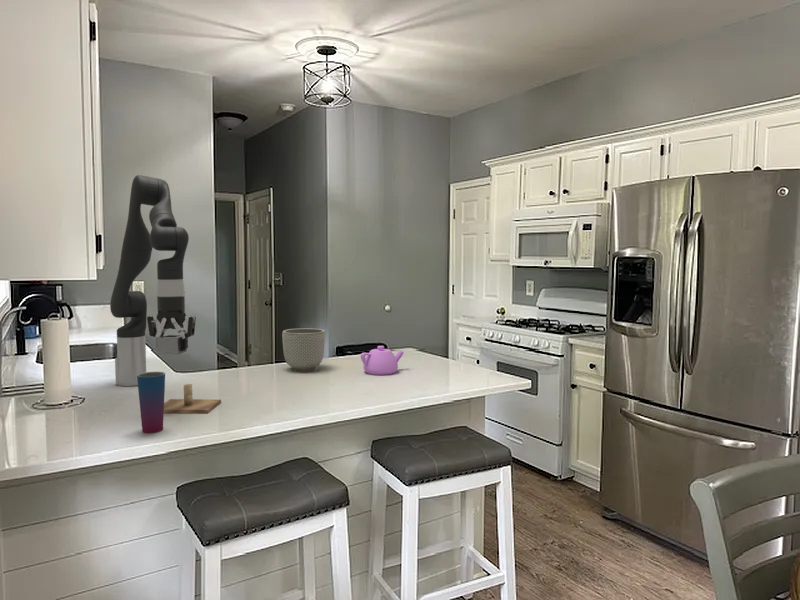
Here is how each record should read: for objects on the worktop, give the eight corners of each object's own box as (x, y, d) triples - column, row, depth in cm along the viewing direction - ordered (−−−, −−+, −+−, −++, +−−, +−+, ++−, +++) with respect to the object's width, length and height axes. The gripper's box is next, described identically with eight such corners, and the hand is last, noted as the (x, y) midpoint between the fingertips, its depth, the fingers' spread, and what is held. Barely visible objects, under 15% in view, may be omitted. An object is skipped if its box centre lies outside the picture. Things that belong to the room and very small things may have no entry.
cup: (144, 426, 151) (142, 371, 150) (170, 425, 151) (168, 371, 150) (134, 434, 144) (132, 377, 143) (161, 433, 145) (160, 376, 144)
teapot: (412, 372, 224) (412, 346, 223) (369, 378, 213) (369, 350, 212) (393, 366, 236) (393, 341, 235) (352, 371, 224) (352, 345, 224)
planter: (273, 370, 226) (273, 330, 225) (306, 364, 240) (306, 326, 238) (301, 376, 215) (300, 335, 214) (334, 369, 228) (334, 330, 227)
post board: (153, 412, 164) (152, 389, 163) (170, 402, 176) (169, 380, 175) (207, 413, 164) (207, 389, 163) (221, 402, 176) (220, 380, 175)
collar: (157, 354, 163) (156, 337, 163) (166, 351, 169) (166, 334, 169) (178, 354, 163) (177, 337, 163) (186, 351, 169) (186, 334, 169)
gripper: (140, 295, 162) (142, 352, 163) (189, 295, 161) (191, 353, 162) (152, 293, 169) (154, 348, 170) (199, 294, 169) (201, 349, 170)
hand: (172, 350), depth 166 cm, fingers closed on collar, 6 cm apart
